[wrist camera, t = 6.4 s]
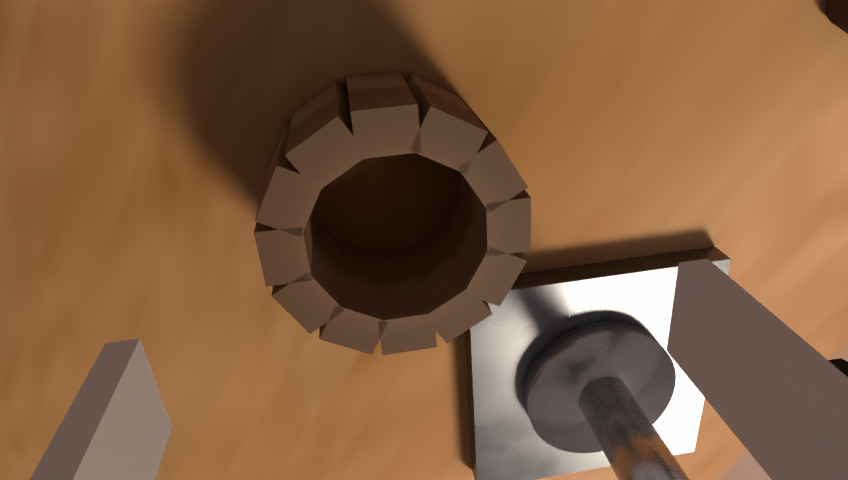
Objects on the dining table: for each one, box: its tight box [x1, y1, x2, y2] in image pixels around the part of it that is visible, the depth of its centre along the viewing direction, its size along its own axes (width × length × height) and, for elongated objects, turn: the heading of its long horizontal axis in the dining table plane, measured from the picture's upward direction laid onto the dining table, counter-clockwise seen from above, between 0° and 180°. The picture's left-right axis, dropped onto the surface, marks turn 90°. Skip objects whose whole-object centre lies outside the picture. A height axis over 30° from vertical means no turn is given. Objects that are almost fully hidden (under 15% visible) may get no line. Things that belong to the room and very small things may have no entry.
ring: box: [254, 71, 531, 355], centre depth 22 cm, size 9×9×5 cm
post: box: [466, 247, 731, 480], centre depth 25 cm, size 12×12×11 cm
